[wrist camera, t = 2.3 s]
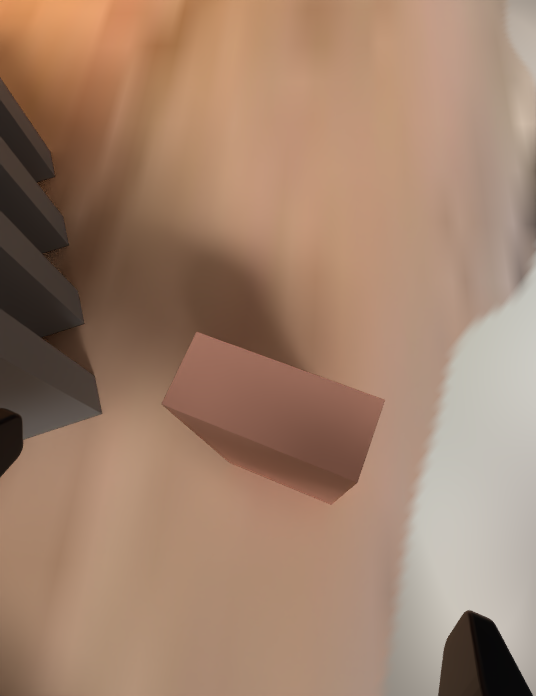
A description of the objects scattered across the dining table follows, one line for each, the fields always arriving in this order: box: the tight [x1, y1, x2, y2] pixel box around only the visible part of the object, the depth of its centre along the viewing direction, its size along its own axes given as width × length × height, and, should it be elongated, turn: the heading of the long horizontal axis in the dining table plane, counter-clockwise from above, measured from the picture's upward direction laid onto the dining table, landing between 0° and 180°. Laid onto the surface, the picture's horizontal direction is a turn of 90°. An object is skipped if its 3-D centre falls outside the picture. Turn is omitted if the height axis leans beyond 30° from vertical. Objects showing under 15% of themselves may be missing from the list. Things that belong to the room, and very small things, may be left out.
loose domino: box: [162, 332, 385, 504], centre depth 15 cm, size 2×4×10 cm, turn 68°
